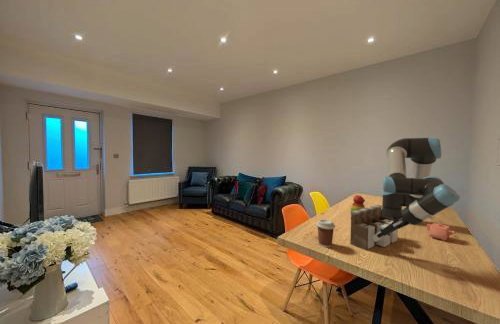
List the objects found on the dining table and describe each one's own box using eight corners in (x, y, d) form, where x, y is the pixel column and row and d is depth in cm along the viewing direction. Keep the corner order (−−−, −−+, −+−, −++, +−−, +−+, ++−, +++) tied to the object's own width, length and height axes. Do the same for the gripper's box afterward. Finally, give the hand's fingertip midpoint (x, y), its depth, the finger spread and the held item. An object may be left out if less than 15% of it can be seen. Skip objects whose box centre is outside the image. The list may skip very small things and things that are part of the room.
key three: (362, 241, 108) (362, 222, 107) (374, 246, 103) (374, 226, 102) (356, 244, 105) (356, 224, 104) (368, 249, 99) (368, 228, 99)
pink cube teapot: (454, 244, 106) (454, 228, 105) (424, 236, 115) (425, 222, 115) (457, 240, 110) (457, 225, 110) (428, 233, 120) (429, 220, 120)
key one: (385, 236, 115) (385, 218, 114) (397, 240, 110) (398, 221, 109) (380, 238, 112) (380, 220, 111) (392, 242, 106) (393, 223, 106)
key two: (377, 240, 110) (377, 221, 109) (389, 244, 105) (390, 224, 104) (371, 242, 107) (372, 223, 106) (384, 247, 102) (384, 227, 101)
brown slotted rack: (376, 233, 120) (377, 204, 120) (392, 237, 113) (393, 207, 113) (350, 243, 105) (350, 211, 105) (366, 250, 98) (367, 215, 98)
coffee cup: (330, 240, 110) (330, 218, 109) (337, 248, 101) (338, 224, 100) (313, 240, 109) (313, 218, 109) (319, 248, 100) (320, 224, 100)
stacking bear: (368, 223, 138) (369, 197, 137) (352, 222, 140) (353, 196, 139) (363, 218, 148) (364, 194, 147) (348, 217, 150) (349, 193, 149)
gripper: (417, 223, 80) (372, 249, 94) (429, 218, 87) (386, 243, 101) (402, 207, 84) (361, 234, 98) (414, 203, 91) (374, 229, 106)
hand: (374, 239), depth 100 cm, fingers closed
